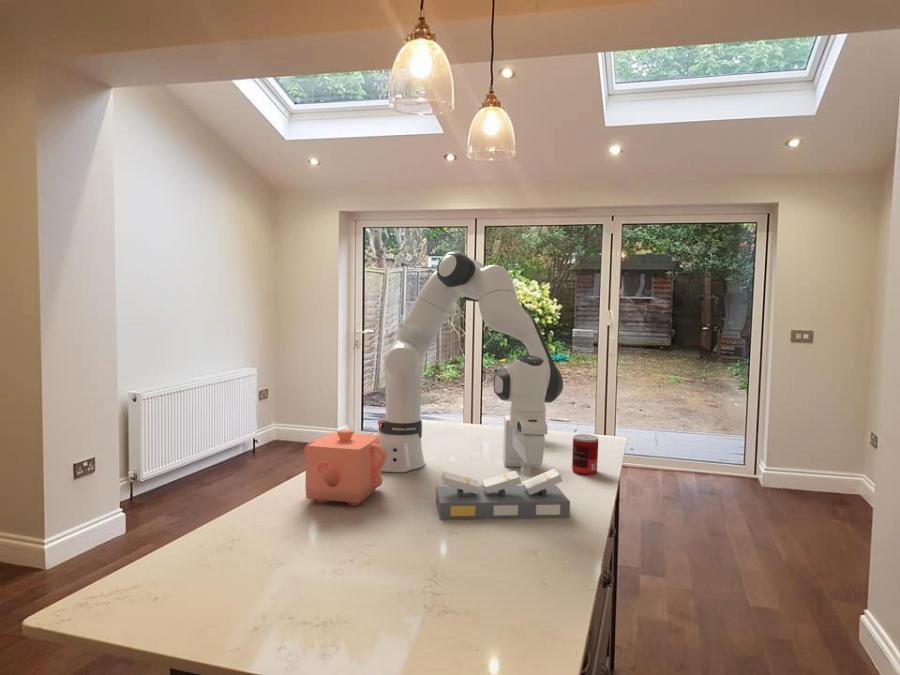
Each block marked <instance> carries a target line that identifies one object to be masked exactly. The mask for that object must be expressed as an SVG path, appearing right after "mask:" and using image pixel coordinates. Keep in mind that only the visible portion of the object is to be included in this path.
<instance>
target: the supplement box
mask: <svg viewBox="0 0 900 675" xmlns="http://www.w3.org/2000/svg"><path fill="white" fill-rule="evenodd" d="M503 420H504V421H503V442H502V444H503V446H502V447H503V449H502V450H503V452H502V460H503V465H504V467H510V468H511V467H512V468H513V467H514V468H515V467H516V468H521V462H520V455H519V454H518V453H517V451H516V450H515V449H514V447H513V444H512V439H513V428H512V427H510V414H505V415H504V416H503ZM531 468H533V466H531Z"/></svg>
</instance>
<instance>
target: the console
mask: <svg viewBox="0 0 900 675" xmlns="http://www.w3.org/2000/svg"><path fill="white" fill-rule="evenodd" d="M479 487H480V488H479V491H478V494H475V493H472V492H468V491H465V490H461V489H457V488H454V487H450V486H447V485H444V486H443V485H442V486H436V488H435V502H436V507H437V512H438V515H439V520H472V519H473V520H474V519H475V520H476V519H477V520H478V519H482V518H483V519H482V520H484V519H485V518H486V519H534V518H535V519H540V518H541V519H543V518H548V519H549V518H550V519H551V518H570V515H571V512H570V511H571V501H570V500H569V499H568V497H567V496H566V494H564V492H563V491H562V490H561V489H560V488H559V487H558V485H557V484H555V485H552V486H550V487H548V488H545V489H543V490H541V491H538V492H536V493H534V494H531V495H529V494H528V492H527V491H526V489H525V488H524V485H523V484H519V485H516V486H512V487H509V488H505V489H502V490H499V491H495V492H492V493H488V494H487V493H486V491H485V489H484V486H483V485H479Z"/></svg>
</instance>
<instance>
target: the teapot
mask: <svg viewBox="0 0 900 675" xmlns="http://www.w3.org/2000/svg"><path fill="white" fill-rule="evenodd" d="M386 456H387V455H386V451H385V450H384V448H383V447H382V446H381V443H380V436H379V435H375V434H367V433H356V432H355V433H354V430H352V429H347V428H345V429H339V430H337V431H333V432H330V433H328V434H325V435H323V436H322V437H320V438H316V439H313V440H311V441H310V442H308V443H307V444H306V445H305V447H304V457H305V458H306V463H305V496H306V499H308V500H309V499H310V500H316V502H317V503H321V502H322V503H323V502H324V503H329V502H330V501H331V502H341V503H342V502H343V503H344V502H345V503H347V505H349V506H359V505H362V502H363V501H364V500H365V499H367V498H368V496H370V495H371V494H372V493H374V492H375V490H376V489H377V488H379V487H381V485H382V484H383V480H384V479H383V476H382V471H381V468H382V467H383V465H384V463H385V461H386Z"/></svg>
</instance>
